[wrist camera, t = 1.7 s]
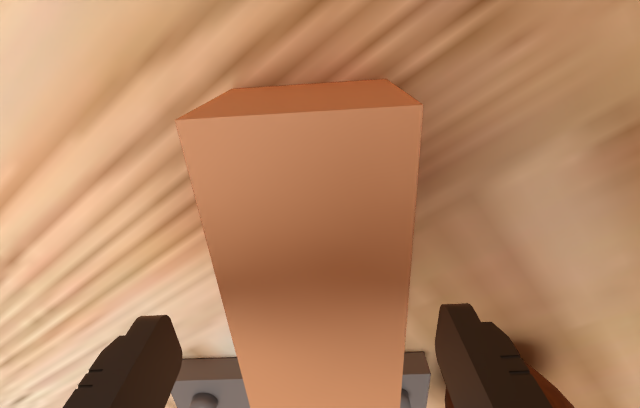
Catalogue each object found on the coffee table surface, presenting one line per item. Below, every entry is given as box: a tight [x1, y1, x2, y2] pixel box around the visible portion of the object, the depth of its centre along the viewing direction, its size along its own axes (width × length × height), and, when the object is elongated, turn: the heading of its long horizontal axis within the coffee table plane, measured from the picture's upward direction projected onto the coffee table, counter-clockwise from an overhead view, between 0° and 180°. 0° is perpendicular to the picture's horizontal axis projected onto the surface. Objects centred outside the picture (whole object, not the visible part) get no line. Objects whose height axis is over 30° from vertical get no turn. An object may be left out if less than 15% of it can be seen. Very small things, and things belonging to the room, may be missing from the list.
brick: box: [175, 79, 423, 408], centre depth 14 cm, size 6×13×6 cm, turn 4°
